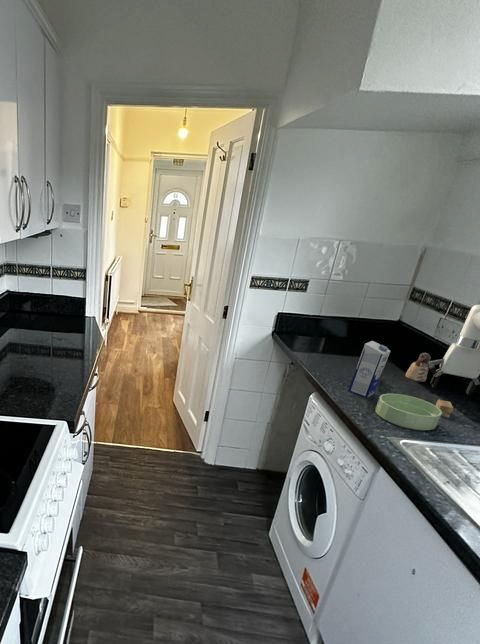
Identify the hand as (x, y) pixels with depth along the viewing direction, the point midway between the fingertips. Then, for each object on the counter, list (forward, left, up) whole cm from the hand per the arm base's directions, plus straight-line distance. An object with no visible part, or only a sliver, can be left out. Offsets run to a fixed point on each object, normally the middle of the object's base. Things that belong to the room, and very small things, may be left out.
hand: (450, 390), depth 143 cm
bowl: (+12, +14, -9) cm, 20 cm away
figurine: (+5, -34, -9) cm, 35 cm away
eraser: (0, 0, -9) cm, 9 cm away
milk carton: (+25, -1, -9) cm, 26 cm away
